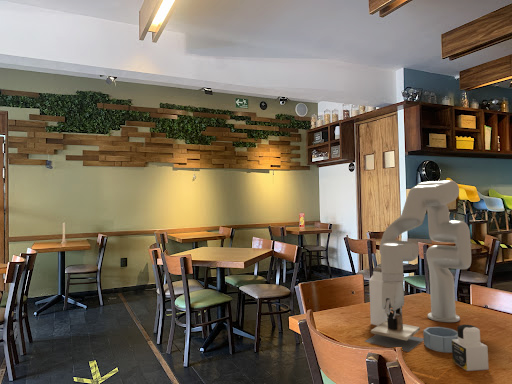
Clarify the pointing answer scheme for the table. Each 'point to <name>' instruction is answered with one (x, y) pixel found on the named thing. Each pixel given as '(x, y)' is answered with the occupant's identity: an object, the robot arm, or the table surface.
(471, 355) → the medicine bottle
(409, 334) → the lid
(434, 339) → the bowl
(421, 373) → the table surface
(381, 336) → the mat
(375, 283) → the milk
